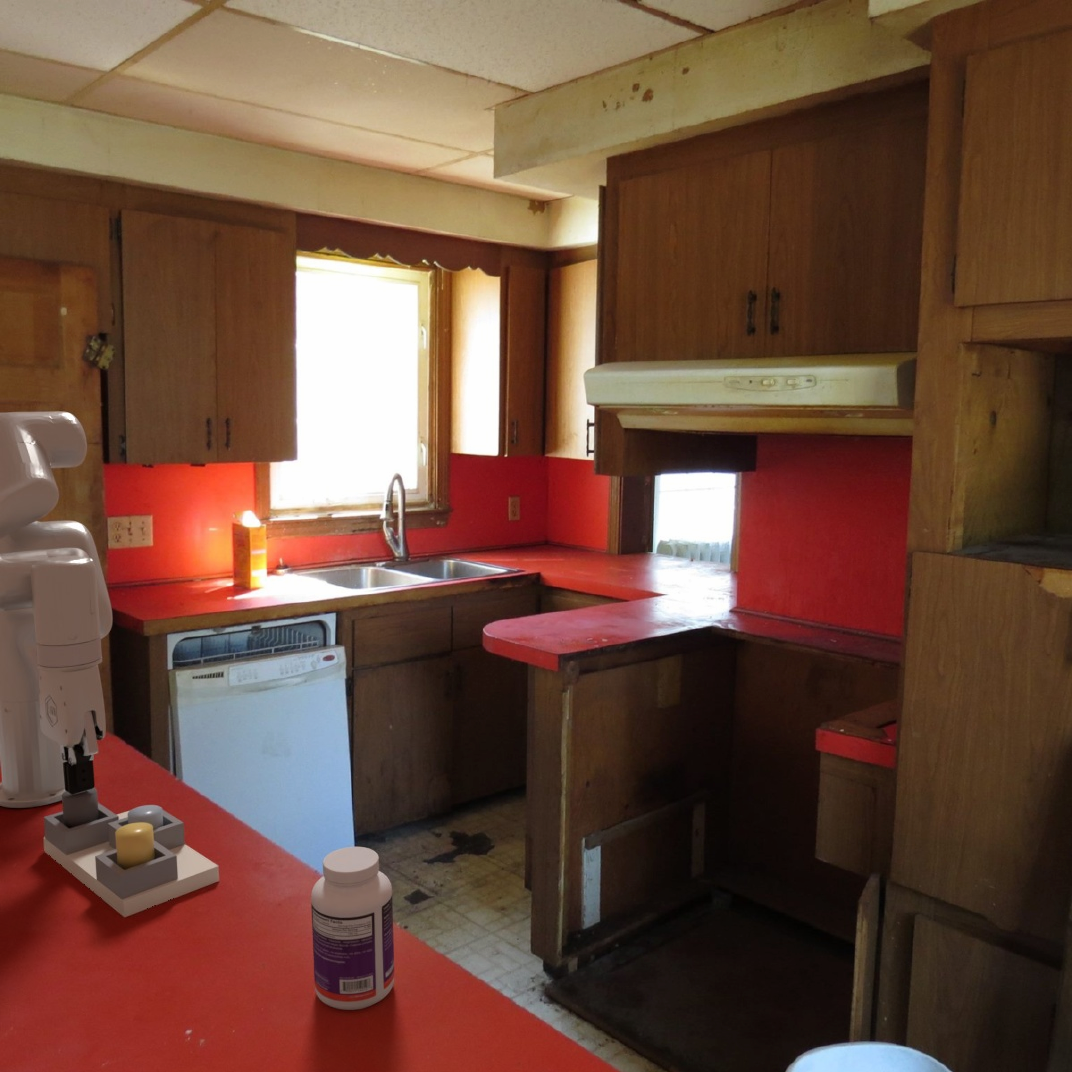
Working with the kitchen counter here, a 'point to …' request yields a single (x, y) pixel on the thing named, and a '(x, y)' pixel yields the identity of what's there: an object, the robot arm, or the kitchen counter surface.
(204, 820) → the kitchen counter surface
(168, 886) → the console
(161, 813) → the slate button
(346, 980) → the pill bottle
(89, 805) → the charcoal button
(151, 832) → the mustard button
